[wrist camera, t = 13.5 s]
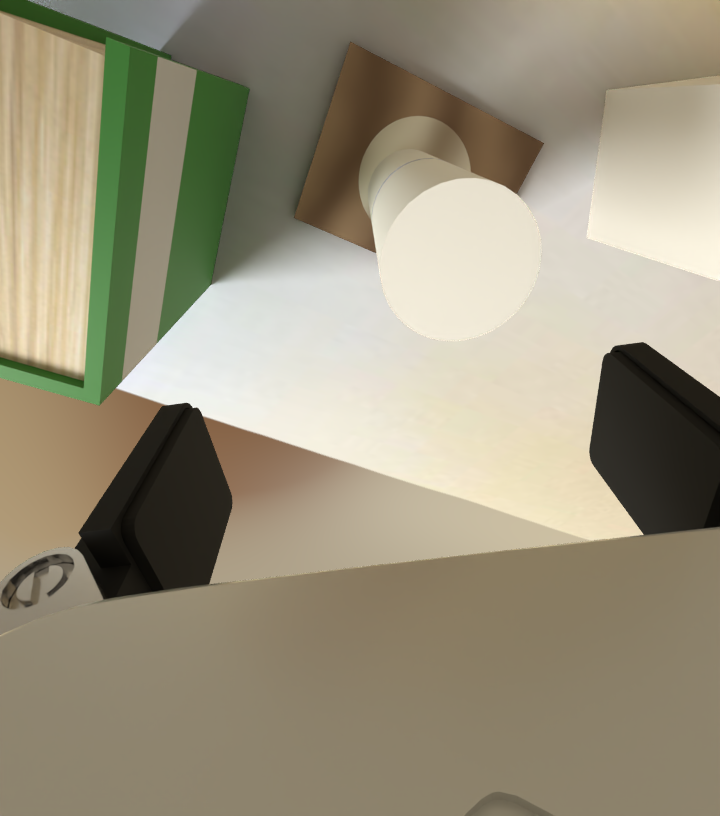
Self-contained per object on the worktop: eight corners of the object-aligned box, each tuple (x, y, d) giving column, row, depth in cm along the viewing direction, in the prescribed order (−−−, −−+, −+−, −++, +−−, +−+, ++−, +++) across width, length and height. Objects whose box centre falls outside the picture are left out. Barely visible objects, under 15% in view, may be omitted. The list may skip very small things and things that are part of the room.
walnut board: (295, 215, 44) (293, 217, 43) (350, 43, 37) (350, 41, 36) (461, 287, 48) (464, 291, 47) (539, 142, 41) (544, 143, 40)
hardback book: (159, 50, 38) (-77, -40, 17) (249, 88, 39) (130, 46, 18) (136, 259, 46) (-41, 366, 26) (210, 284, 48) (99, 405, 27)
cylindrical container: (458, 161, 41) (570, 203, 19) (432, 243, 44) (502, 355, 23) (379, 138, 40) (406, 156, 18) (359, 224, 43) (362, 322, 22)
